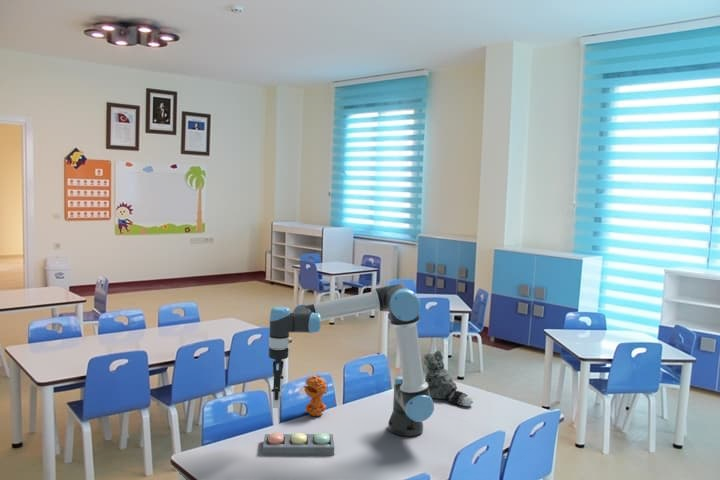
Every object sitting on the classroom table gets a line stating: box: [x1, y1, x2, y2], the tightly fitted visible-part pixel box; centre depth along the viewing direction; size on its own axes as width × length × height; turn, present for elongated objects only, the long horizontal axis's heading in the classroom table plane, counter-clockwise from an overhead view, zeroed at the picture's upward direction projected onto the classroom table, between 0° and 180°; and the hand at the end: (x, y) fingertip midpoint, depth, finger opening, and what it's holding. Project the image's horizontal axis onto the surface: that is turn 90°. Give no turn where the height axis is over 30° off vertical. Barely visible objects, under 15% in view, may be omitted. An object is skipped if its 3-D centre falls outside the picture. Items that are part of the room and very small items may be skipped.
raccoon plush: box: [422, 350, 474, 407], centre depth 296 cm, size 15×32×21 cm, turn 55°
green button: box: [314, 432, 330, 444], centre depth 231 cm, size 6×6×3 cm
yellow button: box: [291, 432, 307, 444], centre depth 230 cm, size 6×6×3 cm
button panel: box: [262, 433, 335, 456], centre depth 230 cm, size 12×27×3 cm, turn 96°
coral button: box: [268, 432, 284, 444], centre depth 229 cm, size 6×6×3 cm
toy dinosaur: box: [303, 374, 329, 417], centre depth 265 cm, size 11×11×18 cm
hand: (276, 401), depth 228 cm, fingers open, 12 cm apart
